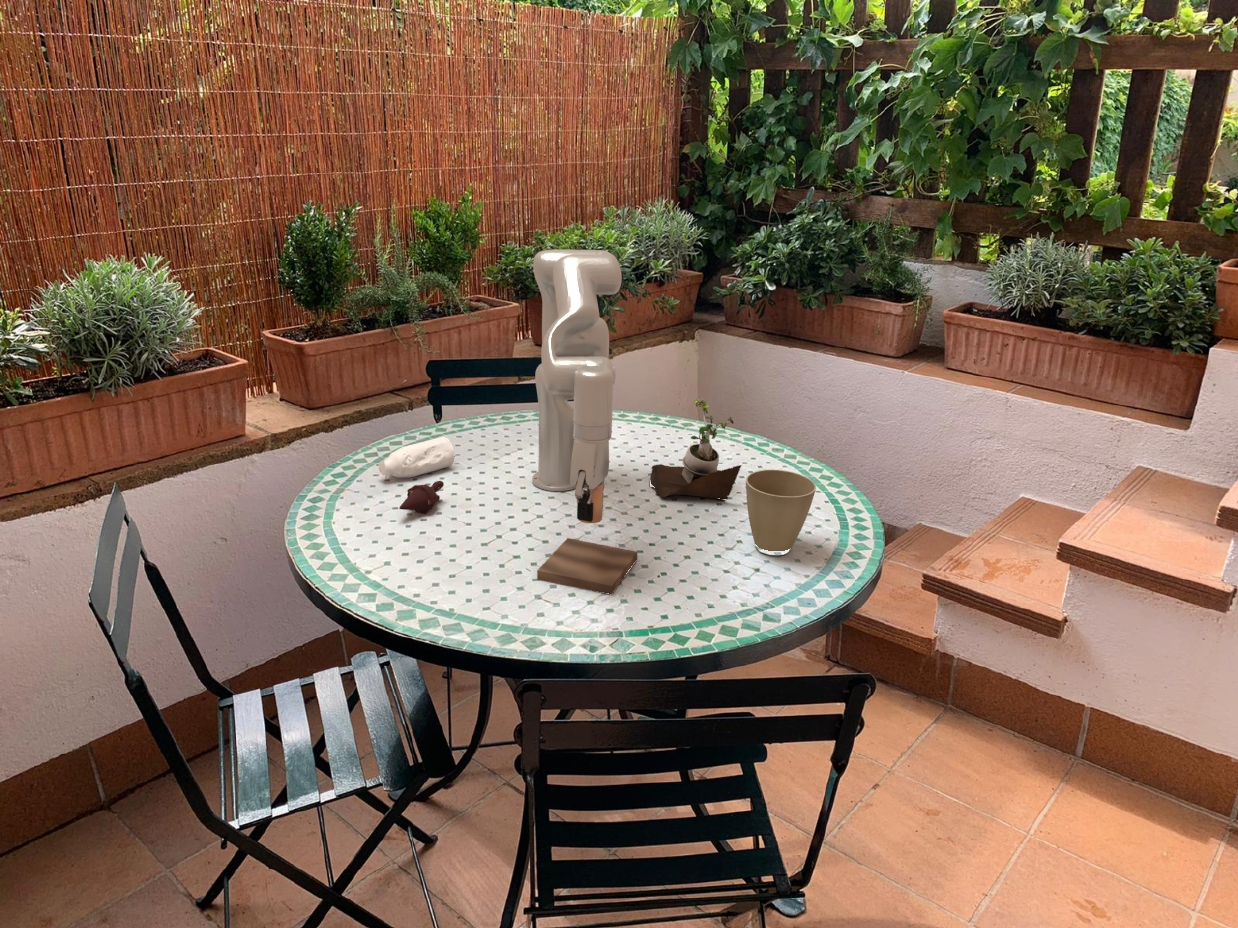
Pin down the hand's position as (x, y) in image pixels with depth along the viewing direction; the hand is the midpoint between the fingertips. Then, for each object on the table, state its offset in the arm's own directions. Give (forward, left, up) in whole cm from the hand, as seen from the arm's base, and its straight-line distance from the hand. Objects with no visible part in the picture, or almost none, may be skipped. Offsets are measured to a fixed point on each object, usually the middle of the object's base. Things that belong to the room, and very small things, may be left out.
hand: (590, 513), depth 186 cm
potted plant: (-51, +8, -13) cm, 53 cm away
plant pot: (-25, +34, -13) cm, 44 cm away
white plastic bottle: (-30, -58, -13) cm, 67 cm away
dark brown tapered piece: (-11, -46, -13) cm, 49 cm away
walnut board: (0, 0, -13) cm, 13 cm away
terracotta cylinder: (0, 0, -1) cm, 1 cm away
